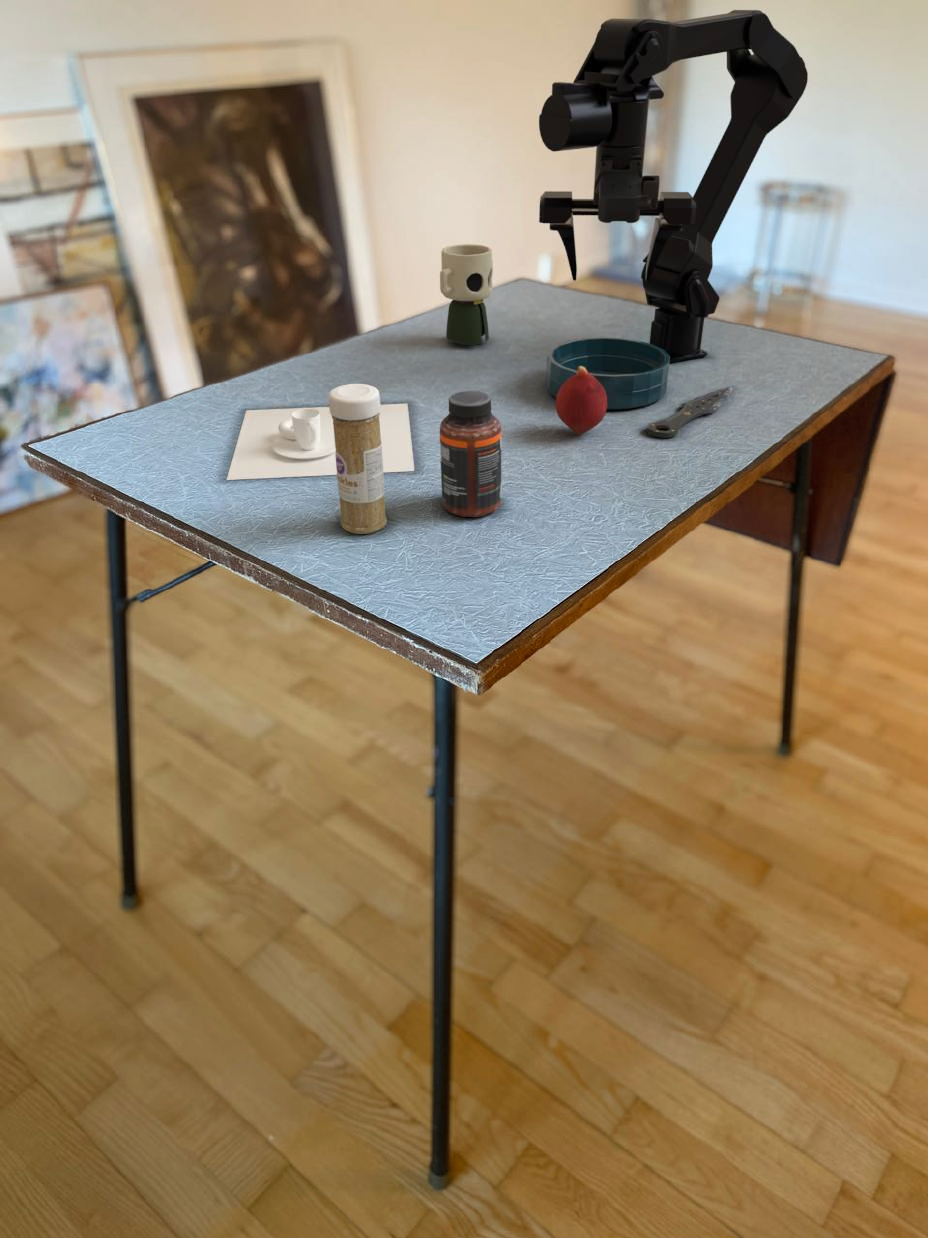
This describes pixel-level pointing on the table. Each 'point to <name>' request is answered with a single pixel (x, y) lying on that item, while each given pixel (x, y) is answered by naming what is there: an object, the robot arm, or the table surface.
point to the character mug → (466, 291)
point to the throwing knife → (689, 413)
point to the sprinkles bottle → (358, 457)
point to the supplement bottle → (470, 456)
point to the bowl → (612, 369)
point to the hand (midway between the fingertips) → (610, 280)
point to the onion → (581, 402)
